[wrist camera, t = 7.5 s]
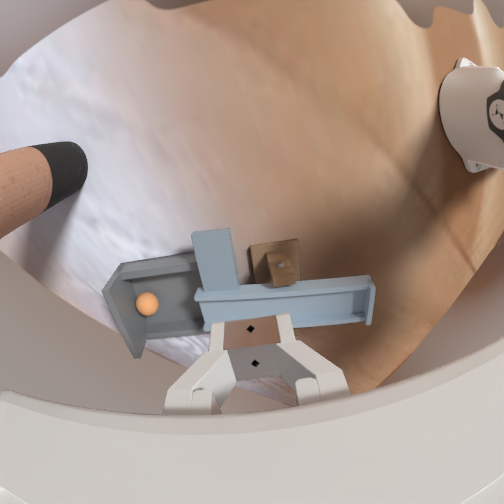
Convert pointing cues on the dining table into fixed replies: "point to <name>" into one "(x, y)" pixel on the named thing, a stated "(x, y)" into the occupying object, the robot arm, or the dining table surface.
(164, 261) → the tray
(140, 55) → the dining table surface
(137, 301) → the ball
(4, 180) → the travel mug
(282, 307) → the lever
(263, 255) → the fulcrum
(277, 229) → the dining table surface
